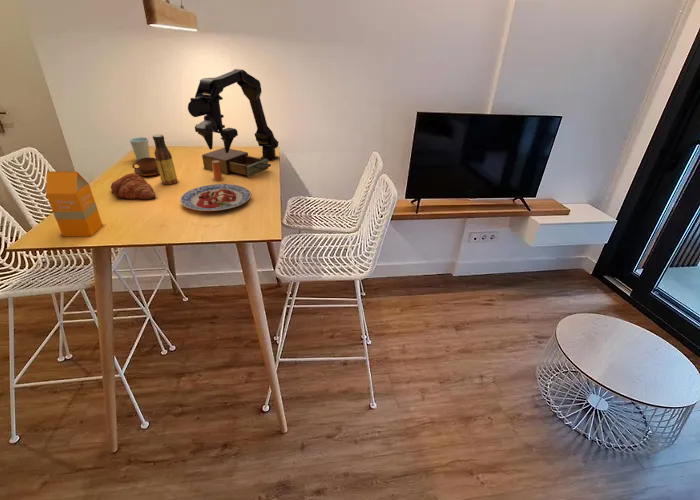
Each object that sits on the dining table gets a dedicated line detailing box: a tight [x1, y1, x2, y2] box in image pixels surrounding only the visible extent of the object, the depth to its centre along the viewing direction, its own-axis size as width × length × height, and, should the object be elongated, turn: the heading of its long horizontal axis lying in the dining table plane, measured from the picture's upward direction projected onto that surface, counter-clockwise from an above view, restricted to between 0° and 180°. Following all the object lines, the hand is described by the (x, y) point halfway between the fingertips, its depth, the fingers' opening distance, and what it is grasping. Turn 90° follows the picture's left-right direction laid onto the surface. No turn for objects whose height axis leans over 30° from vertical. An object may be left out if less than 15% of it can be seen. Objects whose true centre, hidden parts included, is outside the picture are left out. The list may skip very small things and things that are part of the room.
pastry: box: [110, 172, 156, 201], centre depth 149 cm, size 17×15×8 cm
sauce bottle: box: [152, 133, 178, 185], centre depth 158 cm, size 7×6×20 cm
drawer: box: [227, 155, 272, 178], centre depth 175 cm, size 18×13×5 cm
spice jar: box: [212, 160, 223, 181], centre depth 166 cm, size 3×3×8 cm
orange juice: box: [45, 170, 103, 237], centre depth 119 cm, size 8×9×20 cm
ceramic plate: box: [179, 183, 252, 212], centre depth 147 cm, size 26×26×3 cm
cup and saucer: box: [131, 156, 160, 177], centre depth 170 cm, size 12×12×6 cm
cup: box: [129, 136, 151, 162], centre depth 183 cm, size 8×8×10 cm
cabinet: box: [201, 147, 249, 175], centre depth 180 cm, size 15×15×7 cm
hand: (218, 150), depth 162 cm, fingers open, 9 cm apart
